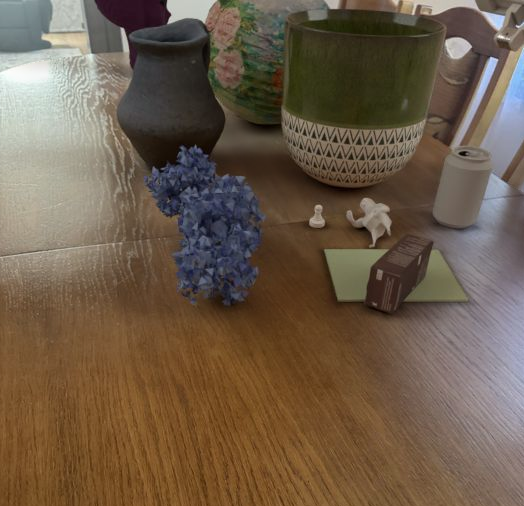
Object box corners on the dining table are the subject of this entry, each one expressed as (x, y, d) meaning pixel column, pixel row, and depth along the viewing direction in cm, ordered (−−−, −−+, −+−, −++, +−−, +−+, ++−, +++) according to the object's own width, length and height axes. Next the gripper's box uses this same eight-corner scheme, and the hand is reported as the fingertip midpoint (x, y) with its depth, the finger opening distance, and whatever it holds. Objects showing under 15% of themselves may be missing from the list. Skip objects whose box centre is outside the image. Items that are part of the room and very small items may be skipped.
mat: (438, 251, 88) (438, 249, 88) (467, 301, 77) (468, 299, 77) (324, 251, 87) (324, 248, 86) (337, 301, 76) (338, 299, 76)
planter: (298, 212, 97) (311, 37, 80) (263, 158, 117) (267, 8, 100) (438, 202, 102) (478, 35, 85) (381, 151, 122) (405, 8, 106)
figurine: (348, 237, 87) (336, 203, 96) (378, 257, 89) (364, 222, 98) (375, 208, 84) (360, 175, 93) (405, 229, 86) (388, 196, 95)
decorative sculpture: (283, 224, 64) (231, 120, 85) (154, 250, 62) (133, 136, 83) (287, 318, 74) (240, 204, 95) (177, 342, 72) (154, 221, 93)
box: (427, 277, 81) (391, 316, 73) (399, 267, 83) (361, 304, 75) (437, 240, 77) (400, 276, 69) (407, 230, 79) (367, 265, 71)
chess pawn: (308, 221, 95) (309, 201, 92) (323, 221, 95) (325, 201, 93) (310, 228, 93) (312, 208, 90) (325, 228, 93) (328, 208, 91)
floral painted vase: (339, 109, 147) (354, -29, 128) (328, 151, 122) (346, -13, 103) (219, 98, 151) (217, -36, 132) (185, 137, 125) (176, -23, 107)
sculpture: (179, 79, 166) (172, -45, 147) (102, 81, 161) (84, -46, 142) (170, 65, 179) (162, -51, 160) (98, 67, 174) (81, -52, 155)
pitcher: (101, 172, 108) (78, 25, 93) (166, 140, 124) (157, 9, 108) (190, 195, 101) (182, 40, 86) (248, 158, 117) (250, 21, 101)
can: (440, 207, 101) (457, 139, 93) (481, 219, 97) (502, 150, 90) (424, 222, 96) (440, 151, 88) (467, 234, 93) (487, 163, 85)
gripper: (513, -83, 70) (435, 11, 72) (671, -75, 56) (568, 42, 58) (526, -40, 74) (452, 47, 77) (676, -22, 60) (580, 84, 63)
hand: (503, 45), depth 67 cm, fingers closed
